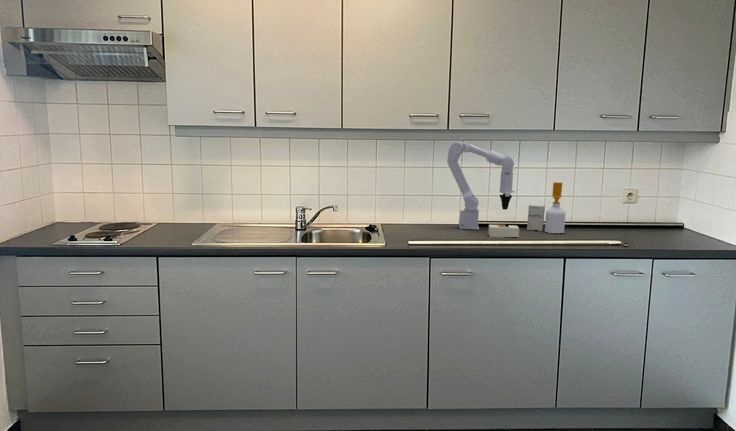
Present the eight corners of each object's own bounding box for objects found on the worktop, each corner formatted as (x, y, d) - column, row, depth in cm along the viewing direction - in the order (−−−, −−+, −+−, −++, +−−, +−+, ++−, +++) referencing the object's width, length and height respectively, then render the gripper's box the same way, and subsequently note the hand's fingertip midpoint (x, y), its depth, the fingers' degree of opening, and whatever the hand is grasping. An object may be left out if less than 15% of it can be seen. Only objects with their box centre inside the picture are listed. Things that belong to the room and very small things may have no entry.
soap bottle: (544, 233, 265) (547, 182, 261) (544, 230, 273) (548, 180, 270) (564, 234, 262) (568, 183, 258) (563, 231, 271) (567, 181, 267)
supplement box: (526, 230, 273) (528, 205, 271) (528, 227, 279) (529, 203, 277) (542, 231, 270) (543, 206, 268) (543, 229, 277) (545, 204, 275)
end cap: (489, 236, 254) (490, 227, 253) (488, 233, 261) (488, 224, 261) (518, 238, 253) (519, 228, 252) (516, 235, 260) (516, 225, 259)
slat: (500, 237, 255) (500, 228, 254) (496, 232, 267) (497, 224, 266) (507, 237, 255) (508, 229, 254) (504, 232, 266) (504, 224, 266)
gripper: (517, 183, 260) (515, 211, 262) (512, 180, 274) (511, 207, 277) (501, 183, 261) (500, 211, 263) (498, 180, 275) (496, 206, 277)
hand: (504, 209), depth 270 cm, fingers closed
